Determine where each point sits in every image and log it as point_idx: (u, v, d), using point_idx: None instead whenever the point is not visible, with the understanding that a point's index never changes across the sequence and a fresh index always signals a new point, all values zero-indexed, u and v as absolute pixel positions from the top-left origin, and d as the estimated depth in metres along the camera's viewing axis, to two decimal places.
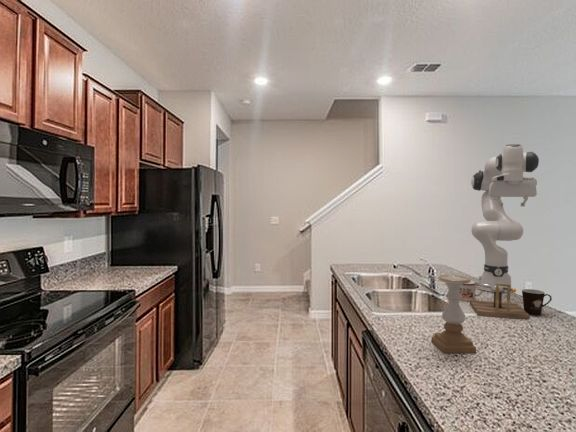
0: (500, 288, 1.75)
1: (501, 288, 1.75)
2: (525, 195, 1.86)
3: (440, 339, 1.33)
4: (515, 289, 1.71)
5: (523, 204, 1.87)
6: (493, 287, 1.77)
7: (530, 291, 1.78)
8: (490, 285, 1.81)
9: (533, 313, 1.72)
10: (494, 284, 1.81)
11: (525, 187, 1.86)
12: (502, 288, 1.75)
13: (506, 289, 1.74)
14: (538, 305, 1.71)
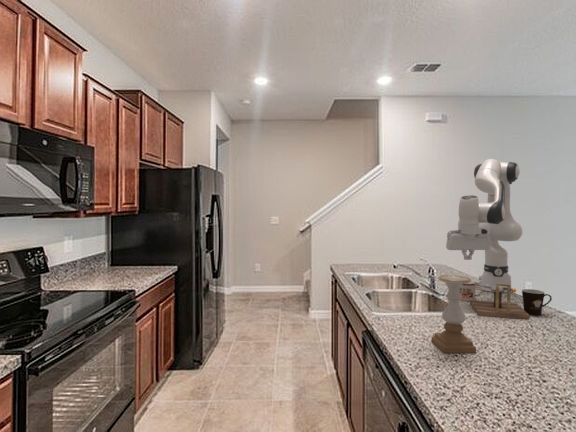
0: (500, 288, 1.75)
1: (501, 288, 1.75)
2: None
3: (440, 339, 1.33)
4: (515, 289, 1.71)
5: None
6: (493, 287, 1.77)
7: (530, 291, 1.78)
8: (490, 285, 1.81)
9: (533, 313, 1.72)
10: (494, 284, 1.81)
11: None
12: (502, 288, 1.75)
13: (506, 289, 1.74)
14: (538, 305, 1.71)
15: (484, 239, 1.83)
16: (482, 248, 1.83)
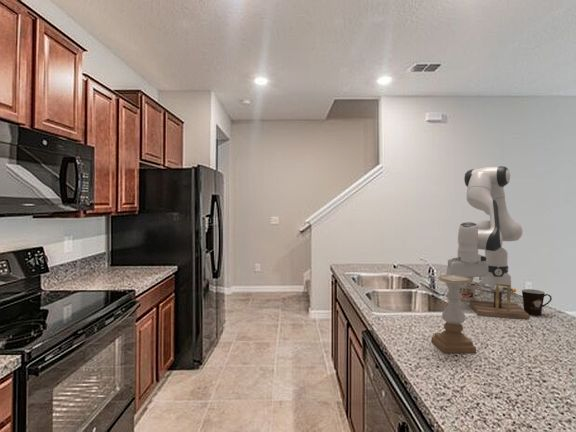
0: (500, 288, 1.75)
1: (501, 288, 1.75)
2: None
3: (440, 339, 1.33)
4: (515, 289, 1.71)
5: None
6: (493, 287, 1.77)
7: (530, 291, 1.78)
8: (490, 285, 1.81)
9: (533, 313, 1.72)
10: (494, 284, 1.81)
11: None
12: (502, 288, 1.75)
13: (506, 289, 1.74)
14: (538, 305, 1.71)
15: (483, 266, 1.84)
16: (481, 275, 1.84)
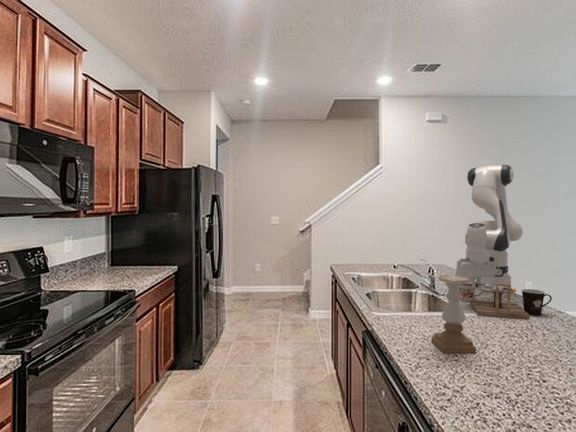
0: (500, 288, 1.75)
1: (501, 288, 1.75)
2: None
3: (440, 339, 1.33)
4: (515, 289, 1.71)
5: None
6: (493, 287, 1.77)
7: (530, 291, 1.78)
8: (490, 285, 1.81)
9: (533, 313, 1.72)
10: (494, 284, 1.81)
11: None
12: (502, 288, 1.75)
13: (506, 289, 1.74)
14: (538, 305, 1.71)
15: (491, 266, 1.86)
16: (489, 276, 1.85)
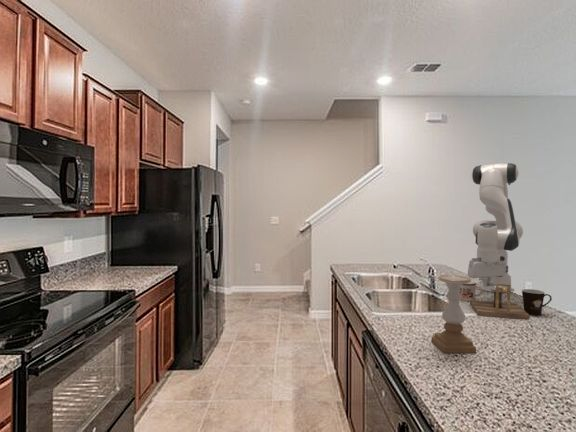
0: (495, 288, 1.76)
1: None
2: None
3: (440, 339, 1.33)
4: (505, 289, 1.70)
5: None
6: (491, 286, 1.79)
7: (530, 291, 1.78)
8: None
9: (533, 313, 1.72)
10: None
11: None
12: None
13: (500, 289, 1.74)
14: (538, 305, 1.71)
15: (501, 265, 1.87)
16: (500, 275, 1.87)
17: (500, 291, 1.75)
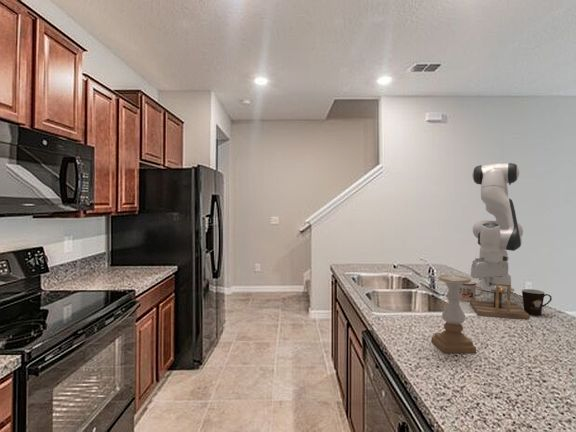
0: (494, 287, 1.76)
1: (495, 288, 1.76)
2: None
3: (440, 339, 1.33)
4: (502, 289, 1.70)
5: None
6: (491, 286, 1.79)
7: (530, 291, 1.78)
8: (495, 285, 1.81)
9: (533, 313, 1.72)
10: None
11: None
12: None
13: None
14: (538, 305, 1.71)
15: (503, 266, 1.87)
16: (502, 275, 1.87)
17: None
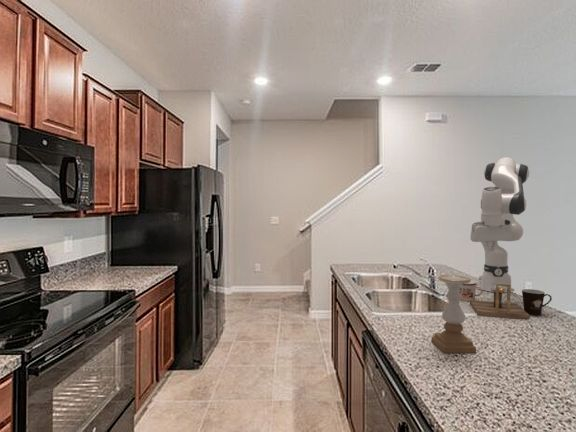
0: (494, 287, 1.76)
1: (495, 288, 1.76)
2: None
3: (440, 339, 1.33)
4: (502, 289, 1.70)
5: None
6: (491, 286, 1.79)
7: (530, 291, 1.78)
8: (495, 285, 1.81)
9: (533, 313, 1.72)
10: None
11: None
12: None
13: None
14: (538, 305, 1.71)
15: (506, 230, 1.85)
16: (505, 239, 1.85)
17: None
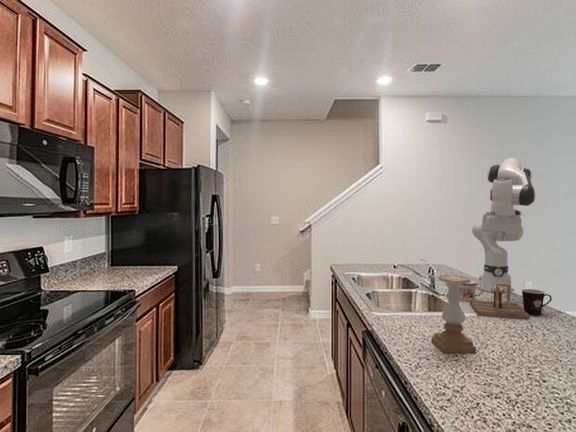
0: (494, 287, 1.76)
1: (495, 288, 1.76)
2: None
3: (440, 339, 1.33)
4: (502, 289, 1.70)
5: None
6: (491, 286, 1.79)
7: (530, 291, 1.78)
8: (495, 285, 1.81)
9: (533, 313, 1.72)
10: None
11: None
12: None
13: None
14: (538, 305, 1.71)
15: (516, 220, 1.86)
16: (515, 230, 1.86)
17: None
